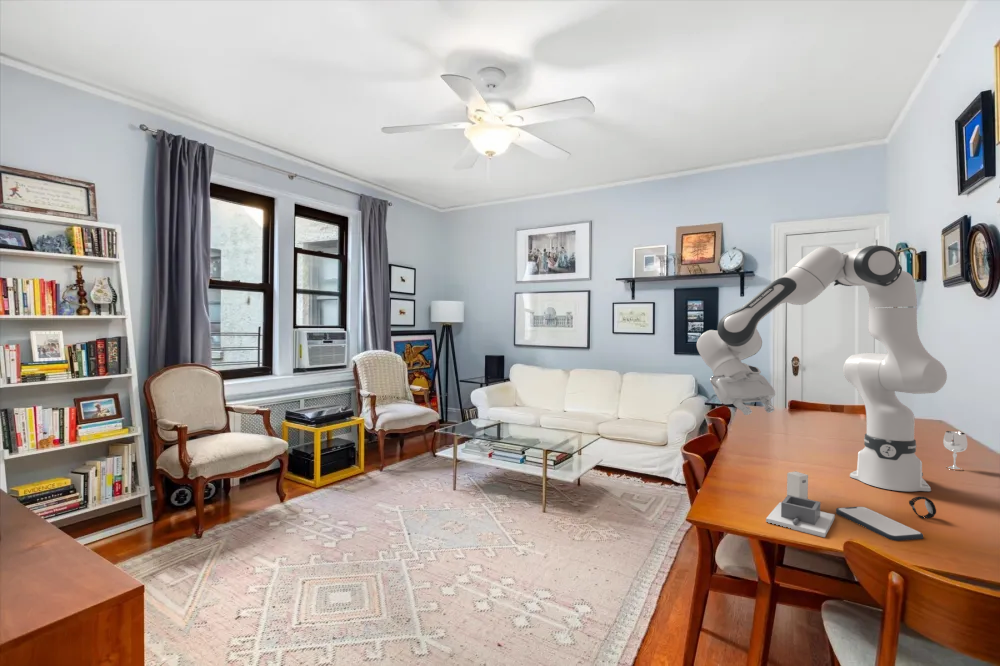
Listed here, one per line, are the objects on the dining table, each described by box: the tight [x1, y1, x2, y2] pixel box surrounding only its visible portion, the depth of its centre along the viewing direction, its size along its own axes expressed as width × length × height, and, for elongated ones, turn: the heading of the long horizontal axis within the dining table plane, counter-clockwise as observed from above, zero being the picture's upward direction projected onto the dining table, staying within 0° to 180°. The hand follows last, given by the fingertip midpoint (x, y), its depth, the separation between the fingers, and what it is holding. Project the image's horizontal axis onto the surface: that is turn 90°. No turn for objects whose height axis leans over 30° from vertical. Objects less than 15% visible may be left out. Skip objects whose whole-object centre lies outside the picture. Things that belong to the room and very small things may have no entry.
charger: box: [786, 470, 809, 499], centre depth 129 cm, size 3×4×8 cm
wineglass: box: [942, 430, 968, 469], centre depth 158 cm, size 6×6×12 cm
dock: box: [765, 494, 836, 538], centre depth 118 cm, size 14×12×4 cm
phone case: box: [835, 506, 924, 542], centre depth 116 cm, size 9×2×16 cm
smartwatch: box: [908, 496, 937, 519], centre depth 120 cm, size 4×5×5 cm
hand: (760, 412), depth 139 cm, fingers open, 8 cm apart
